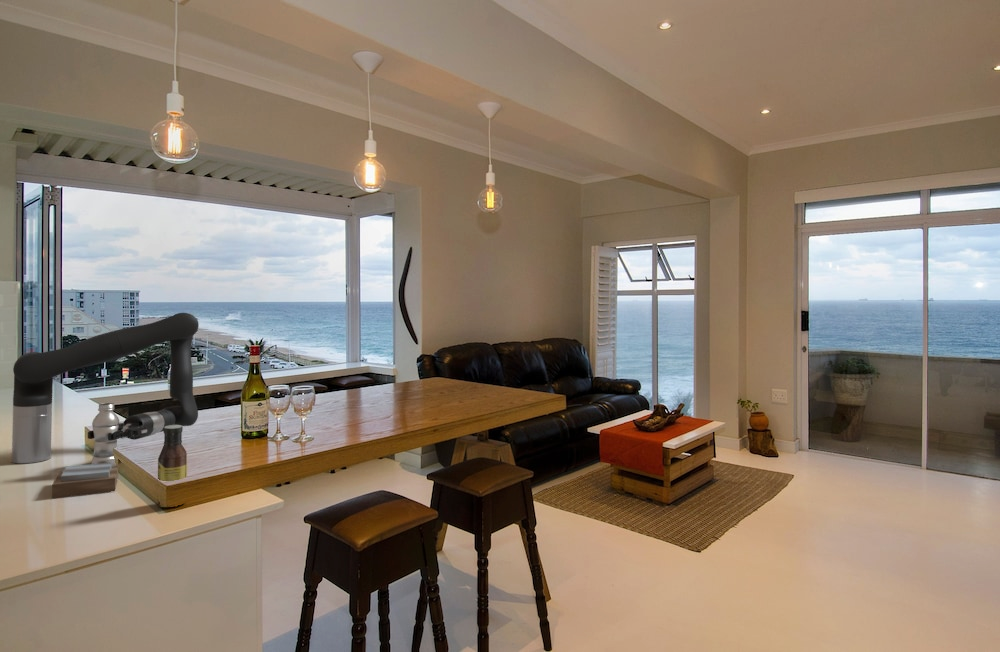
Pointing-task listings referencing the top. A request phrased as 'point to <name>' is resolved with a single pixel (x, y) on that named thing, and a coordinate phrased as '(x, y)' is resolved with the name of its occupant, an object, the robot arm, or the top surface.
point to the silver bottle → (104, 434)
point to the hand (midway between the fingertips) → (99, 436)
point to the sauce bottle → (172, 456)
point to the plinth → (85, 480)
